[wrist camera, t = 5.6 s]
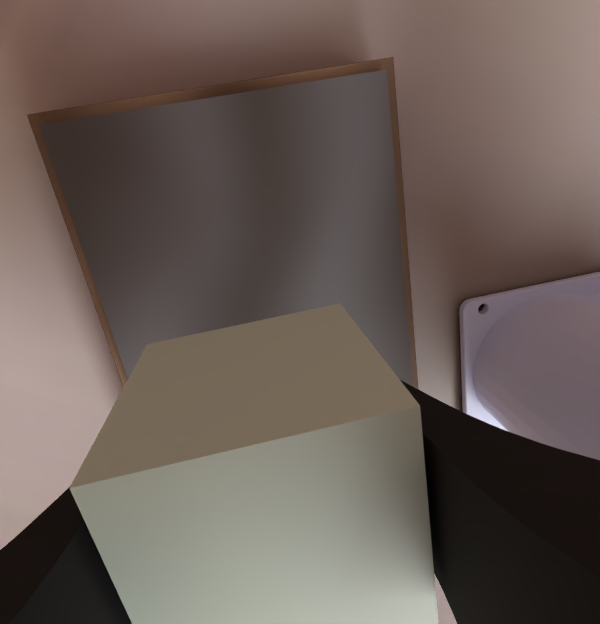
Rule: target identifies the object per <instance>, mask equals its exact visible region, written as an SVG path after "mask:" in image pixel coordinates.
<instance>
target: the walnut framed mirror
mask: <svg viewBox="0 0 600 624" xmlns="http://www.w3.org/2000/svg"><path fill="white" fill-rule="evenodd" d="M27 116H28V119H29V122H30V124H31V127H32V130H33V133H34V136H35V139H36V141H37V144H38V147H39V150H40V153H41V155H42V158H43V161H44V164H45V167H46V169H47V172H48V175H49V178H50V181H51V184H52V186H53V189H54V192H55V195H56V198H57V200H58V203H59V206H60V209H61V212H62V214H63V217H64V220H65V223H66V226H67V229H68V231H69V234H70V237H71V240H72V243H73V245H74V248H75V251H76V254H77V257H78V259H79V262H80V265H81V268H82V271H83V274H84V276H85V279H86V282H87V285H88V288H89V290H90V293H91V296H92V299H93V302H94V304H95V307H96V310H97V313H98V316H99V319H100V321H101V324H102V327H103V330H104V333H105V335H106V338H107V341H108V344H109V347H110V349H111V352H112V355H113V358H114V361H115V364H116V366H117V369H118V372H119V375H120V378H121V380H122V383H123V386H125V384H126V382H127V380H128V379H129V377H130V375H131V373H132V371H133V369H134V367H135V366H136V364H137V362H138V360H139V358H140V356H141V354H142V353H143V351H144V349H145V347H146V345H147V344H151V343H156V342H160V341H165V340H170V339H175V338H179V337H184V336H189V335H193V334H198V333H203V332H208V331H212V330H217V329H222V328H226V327H231V326H236V325H241V324H245V323H250V322H255V321H259V320H264V319H269V318H273V317H278V316H283V315H288V314H292V313H297V312H302V311H306V310H311V309H316V308H321V307H325V306H330V305H335V304H339V303H340V304H341V305H342V306H343V308H344V309H345V310H346V311H347V313H348V314H349V315H350V317H351V318H352V319H353V320H354V322H355V323H356V324H357V326H358V327H359V328H360V329H361V331H362V332H363V333H364V335H365V336H366V337H367V338H368V340H369V341H370V342H371V343H372V345H373V346H374V347H375V349H376V350H377V351H378V352H379V354H380V355H381V356H382V358H383V359H384V360H385V361H386V363H387V364H388V365H389V367H390V368H391V369H392V370H393V372H394V373H395V374H396V376H397V377H398V378H399V379H400V380H402V381H404V382H405V383H407V384H409V385H411V386H413V387H415V388H416V389H418V379H417V365H416V352H415V339H414V326H413V313H412V299H411V286H410V273H409V260H408V247H407V234H406V220H405V207H404V194H403V181H402V168H401V155H400V141H399V128H398V115H397V102H396V89H395V75H394V62H393V57H391V58H384V59H378V60H372V61H365V62H359V63H353V64H346V65H340V66H333V67H327V68H321V69H314V70H308V71H302V72H295V73H289V74H283V75H276V76H270V77H264V78H257V79H251V80H245V81H238V82H232V83H226V84H219V85H213V86H207V87H200V88H194V89H187V90H181V91H175V92H168V93H162V94H156V95H149V96H143V97H137V98H130V99H124V100H118V101H111V102H105V103H99V104H92V105H86V106H80V107H73V108H67V109H60V110H54V111H48V112H41V113H35V114H29V115H27Z"/></svg>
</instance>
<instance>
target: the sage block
mask: <svg viewBox="0 0 600 624" xmlns="http://www.w3.org/2000/svg"><path fill="white" fill-rule="evenodd" d="M70 491H71V493H72V495H73V497H74V499H75V501H76V504H77V506H78V508H79V510H80V512H81V514H82V517H83V519H84V521H85V523H86V525H87V527H88V530H89V532H90V534H91V536H92V538H93V540H94V543H95V545H96V547H97V549H98V551H99V553H100V555H101V558H102V560H103V562H104V564H105V566H106V568H107V571H108V573H109V575H110V577H111V579H112V581H113V584H114V586H115V588H116V590H117V592H118V594H119V597H120V599H121V601H122V603H123V605H124V607H125V610H126V612H127V614H128V616H129V618H130V620H131V623H132V624H438V613H437V601H436V590H435V578H434V566H433V554H432V542H431V530H430V518H429V506H428V494H427V483H426V471H425V459H424V447H423V435H422V423H421V411H420V405H419V404H418V402H417V401H416V400H415V399H414V397H413V396H412V395H411V393H410V392H409V391H408V390H407V388H406V387H405V386H404V384H403V383H402V382H401V381H400V379H399V378H398V377H397V376H396V374H395V373H394V372H393V370H392V369H391V368H390V367H389V365H388V364H387V363H386V361H385V360H384V359H383V358H382V356H381V355H380V354H379V352H378V351H377V350H376V349H375V347H374V346H373V345H372V343H371V342H370V341H369V340H368V338H367V337H366V336H365V335H364V333H363V332H362V331H361V329H360V328H359V327H358V326H357V324H356V323H355V322H354V320H353V319H352V318H351V317H350V315H349V314H348V313H347V311H346V310H345V309H344V308H343V306H342V305H341V304H340V303H339V304H335V305H330V306H325V307H321V308H316V309H311V310H306V311H302V312H297V313H292V314H288V315H283V316H278V317H273V318H269V319H264V320H259V321H255V322H250V323H245V324H241V325H236V326H231V327H226V328H222V329H217V330H212V331H208V332H203V333H198V334H193V335H189V336H184V337H179V338H175V339H170V340H165V341H160V342H156V343H151V344H147V345H146V347H145V349H144V351H143V353H142V354H141V356H140V358H139V360H138V362H137V364H136V366H135V367H134V369H133V371H132V373H131V375H130V377H129V379H128V380H127V382H126V384H125V386H124V388H123V390H122V392H121V393H120V395H119V397H118V399H117V401H116V403H115V405H114V406H113V408H112V410H111V412H110V414H109V416H108V418H107V419H106V421H105V423H104V425H103V427H102V429H101V430H100V432H99V434H98V436H97V438H96V440H95V442H94V443H93V445H92V447H91V449H90V451H89V453H88V455H87V456H86V458H85V460H84V462H83V464H82V466H81V468H80V469H79V471H78V473H77V475H76V477H75V479H74V481H73V482H72V484H71V486H70Z"/></svg>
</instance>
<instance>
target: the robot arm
mask: <svg viewBox="0 0 600 624" xmlns="http://www.w3.org/2000/svg"><path fill="white" fill-rule="evenodd" d="M481 304H484V308H483V309H482V310H481V311H479V312H478V308H479V306H480V305H481ZM459 316H460V345H461V374H462V403H463V412H461V411H459V410H457V409H455V408H453V407H451V406H449V405H447V404H445V403H443V402H441V401H439V400H437V399H435V398H433V397H431V396H429V395H427V394H426V393H424V392H422V391H420V390H418V389H416V388H415V387H413V386H411V385H409V384H407V383H405V382H404V381H402V380H400V381H401V382H402V383H403V384H404V386H405V387H406V388H407V390H408V391H409V392H410V393H411V395H412V396H413V397H414V399H415V400H416V401H417V402H418V404H419V405H420V411H421V423H422V435H423V447H424V459H425V471H426V483H427V494H428V506H429V518H430V530H431V542H432V554H433V566H434V573H435V575H436V577H437V579H438V581H439V583H440V585H441V587H442V589H443V591H444V594H445V596H446V598H447V601H448V603H449V605H450V607H451V610H452V612H453V614H454V617H455V619H456V621H457V624H600V272H595V273H590V274H586V275H581V276H576V277H571V278H567V279H562V280H557V281H552V282H547V283H543V284H538V285H533V286H528V287H524V288H519V289H514V290H509V291H504V292H500V293H495V294H490V295H485V296H481V297H476V298H471V299H468V300H465V301H464V302H463V303H462V304H461V306H460V310H459ZM0 624H132V623H131V620H130V618H129V616H128V614H127V612H126V610H125V607H124V605H123V603H122V601H121V599H120V597H119V594H118V592H117V590H116V588H115V586H114V584H113V581H112V579H111V577H110V575H109V573H108V571H107V568H106V566H105V564H104V562H103V560H102V558H101V555H100V553H99V551H98V549H97V547H96V545H95V543H94V540H93V538H92V536H91V534H90V532H89V530H88V527H87V525H86V523H85V521H84V519H83V517H82V514H81V512H80V510H79V508H78V506H77V504H76V501H75V499H74V497H73V495H72V493H71V491H70V487H69V488H68V489H67V490H66V491H65V492H64V493H63V494H62V495H61V496H60V497H59V498H58V499H57V500H55V501H54V502H53V503H52V504H51V505H50V506H49V507H48V508H47V509H46V510H45V511H44V512H42V513H41V514H40V515H39V516H38V517H37V518H36V519H35V520H34V521H33V522H32V523H31V524H30V525H28V526H27V527H26V528H25V529H24V530H23V531H22V532H21V533H20V534H19V535H17V536H16V537H15V538H14V539H13V540H12V541H11V542H9V543H8V544H7V545H6V546H5V547H4V548H2V549H1V550H0Z"/></svg>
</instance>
